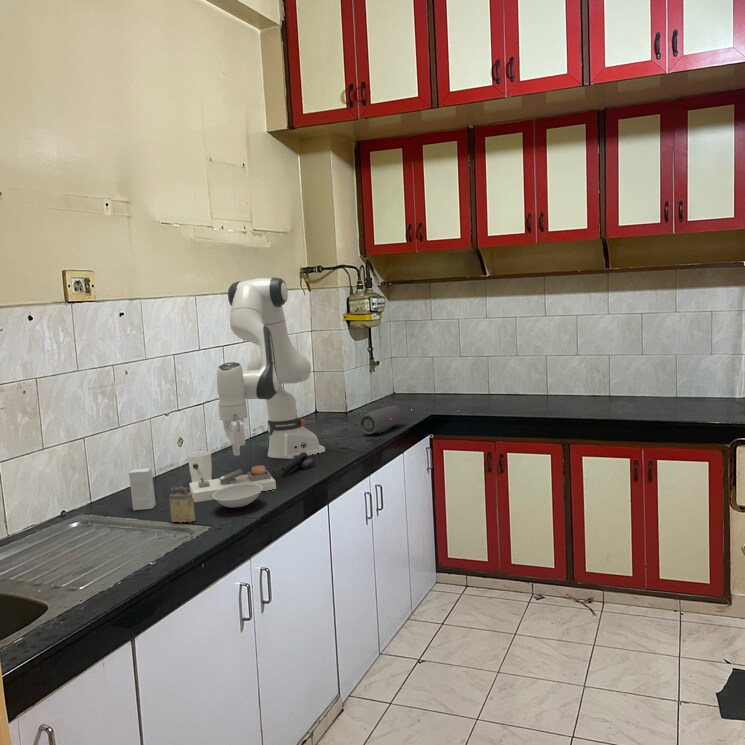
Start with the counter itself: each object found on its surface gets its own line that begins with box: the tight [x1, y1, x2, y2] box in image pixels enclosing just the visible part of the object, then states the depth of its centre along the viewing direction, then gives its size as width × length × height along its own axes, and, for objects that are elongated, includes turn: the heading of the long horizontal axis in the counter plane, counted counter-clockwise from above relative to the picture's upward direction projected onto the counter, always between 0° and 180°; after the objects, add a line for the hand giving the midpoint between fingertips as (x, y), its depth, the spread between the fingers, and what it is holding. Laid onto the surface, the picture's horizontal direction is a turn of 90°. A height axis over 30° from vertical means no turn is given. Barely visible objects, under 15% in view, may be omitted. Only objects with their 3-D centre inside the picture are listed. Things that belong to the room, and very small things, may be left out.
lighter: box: [168, 485, 196, 524], centre depth 213 cm, size 7×4×10 cm, turn 77°
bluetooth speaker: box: [358, 405, 403, 435], centre depth 322 cm, size 23×9×10 cm, turn 148°
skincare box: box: [128, 467, 156, 511], centre depth 230 cm, size 6×4×12 cm
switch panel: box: [189, 469, 277, 503], centre depth 243 cm, size 26×14×5 cm, turn 109°
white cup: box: [187, 450, 213, 483], centre depth 257 cm, size 8×8×10 cm
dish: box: [212, 483, 263, 509], centre depth 223 cm, size 18×14×5 cm
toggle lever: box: [193, 464, 204, 482], centre depth 239 cm, size 2×2×7 cm
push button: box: [251, 465, 266, 476], centre depth 245 cm, size 4×4×2 cm
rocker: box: [218, 468, 244, 483], centre depth 242 cm, size 8×4×1 cm, turn 109°
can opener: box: [281, 452, 315, 477], centre depth 263 cm, size 18×7×6 cm, turn 154°
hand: (236, 455), depth 242 cm, fingers closed
